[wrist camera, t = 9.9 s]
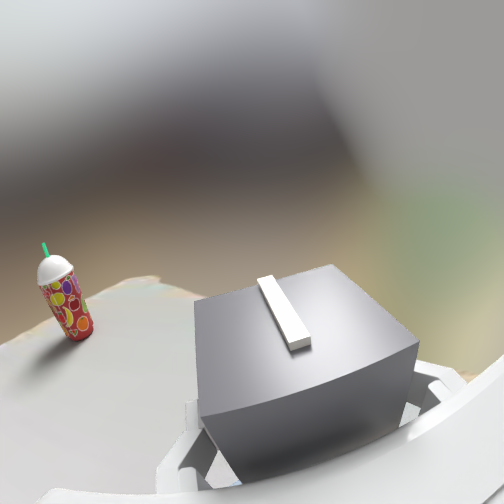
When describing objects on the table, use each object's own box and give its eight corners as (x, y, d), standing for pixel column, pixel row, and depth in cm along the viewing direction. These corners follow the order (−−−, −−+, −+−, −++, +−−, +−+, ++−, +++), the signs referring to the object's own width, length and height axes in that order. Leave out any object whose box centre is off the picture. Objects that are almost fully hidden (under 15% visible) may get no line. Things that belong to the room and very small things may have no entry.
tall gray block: (378, 480, 10) (421, 332, 6) (268, 518, 9) (195, 409, 6) (338, 409, 15) (331, 257, 12) (247, 437, 15) (192, 294, 11)
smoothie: (68, 328, 53) (32, 244, 45) (100, 318, 55) (65, 231, 48) (63, 349, 45) (19, 256, 38) (97, 338, 48) (55, 241, 41)
